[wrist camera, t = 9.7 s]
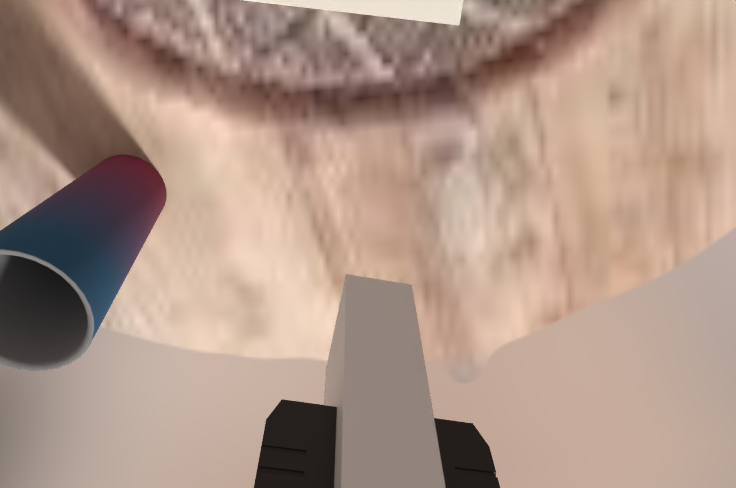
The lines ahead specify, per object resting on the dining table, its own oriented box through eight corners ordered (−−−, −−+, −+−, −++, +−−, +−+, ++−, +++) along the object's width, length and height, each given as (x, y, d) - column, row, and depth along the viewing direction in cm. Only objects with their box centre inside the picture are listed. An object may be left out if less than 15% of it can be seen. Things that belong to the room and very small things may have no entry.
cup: (71, 138, 38) (-80, 244, 25) (175, 145, 38) (82, 253, 25) (86, 230, 41) (-40, 368, 28) (183, 236, 42) (103, 374, 28)
